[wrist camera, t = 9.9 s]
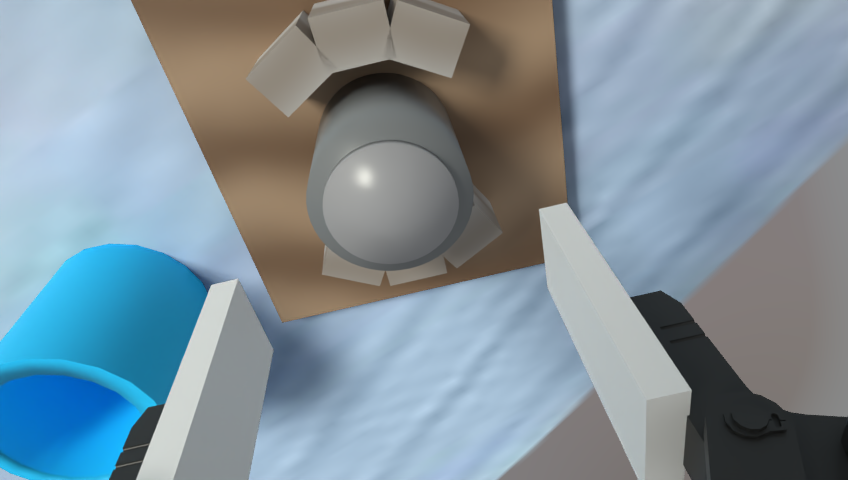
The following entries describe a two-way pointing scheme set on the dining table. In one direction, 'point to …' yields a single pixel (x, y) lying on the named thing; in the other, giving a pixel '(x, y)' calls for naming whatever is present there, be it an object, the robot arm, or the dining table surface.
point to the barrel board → (320, 80)
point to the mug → (93, 360)
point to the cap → (388, 175)
